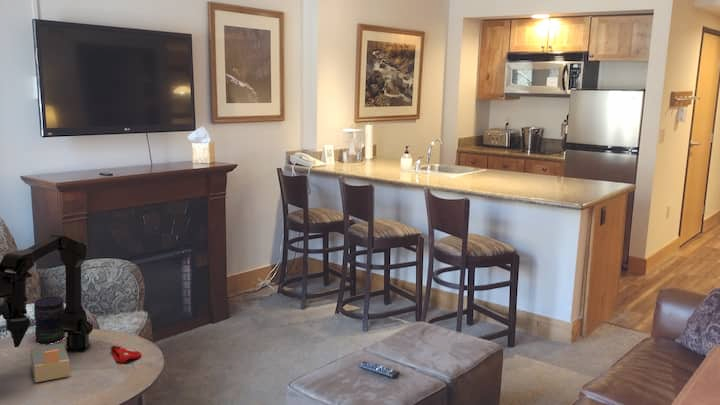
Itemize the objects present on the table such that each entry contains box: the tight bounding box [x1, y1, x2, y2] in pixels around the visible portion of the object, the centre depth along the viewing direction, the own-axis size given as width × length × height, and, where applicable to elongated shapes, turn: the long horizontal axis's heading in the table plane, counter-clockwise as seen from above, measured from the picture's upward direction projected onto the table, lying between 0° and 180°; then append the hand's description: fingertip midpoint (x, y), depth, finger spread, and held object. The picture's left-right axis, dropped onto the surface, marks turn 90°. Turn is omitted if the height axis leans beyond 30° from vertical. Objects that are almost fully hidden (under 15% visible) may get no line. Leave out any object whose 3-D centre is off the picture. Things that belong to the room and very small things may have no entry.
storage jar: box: [33, 296, 66, 345], centre depth 224 cm, size 10×10×15 cm
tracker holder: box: [109, 344, 142, 364], centre depth 213 cm, size 12×4×10 cm
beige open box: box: [34, 349, 71, 383], centre depth 200 cm, size 14×10×10 cm
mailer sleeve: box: [29, 342, 70, 381], centre depth 201 cm, size 14×10×6 cm
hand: (15, 342), depth 190 cm, fingers open, 9 cm apart
